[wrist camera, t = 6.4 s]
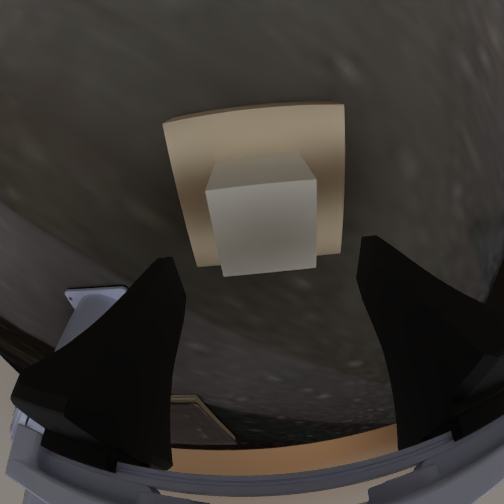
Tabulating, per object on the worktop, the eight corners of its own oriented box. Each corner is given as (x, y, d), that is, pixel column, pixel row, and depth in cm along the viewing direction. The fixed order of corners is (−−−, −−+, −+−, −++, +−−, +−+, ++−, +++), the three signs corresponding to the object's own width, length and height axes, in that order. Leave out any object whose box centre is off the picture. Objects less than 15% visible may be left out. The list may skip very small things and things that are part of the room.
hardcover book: (198, 390, 37) (197, 404, 35) (237, 434, 50) (237, 444, 48) (111, 389, 38) (108, 400, 36) (169, 434, 51) (168, 442, 49)
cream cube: (301, 222, 17) (316, 267, 14) (228, 229, 18) (223, 276, 14) (298, 151, 15) (316, 179, 11) (216, 159, 15) (205, 190, 11)
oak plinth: (330, 230, 21) (340, 253, 19) (202, 243, 22) (197, 267, 19) (329, 100, 16) (344, 104, 13) (175, 116, 16) (162, 123, 14)
